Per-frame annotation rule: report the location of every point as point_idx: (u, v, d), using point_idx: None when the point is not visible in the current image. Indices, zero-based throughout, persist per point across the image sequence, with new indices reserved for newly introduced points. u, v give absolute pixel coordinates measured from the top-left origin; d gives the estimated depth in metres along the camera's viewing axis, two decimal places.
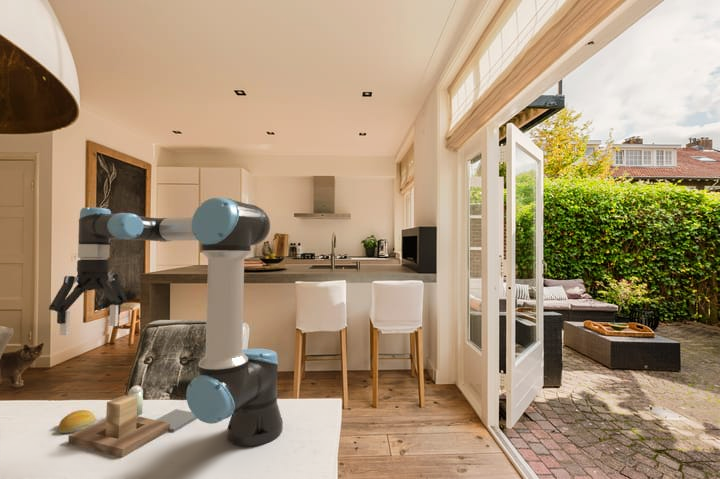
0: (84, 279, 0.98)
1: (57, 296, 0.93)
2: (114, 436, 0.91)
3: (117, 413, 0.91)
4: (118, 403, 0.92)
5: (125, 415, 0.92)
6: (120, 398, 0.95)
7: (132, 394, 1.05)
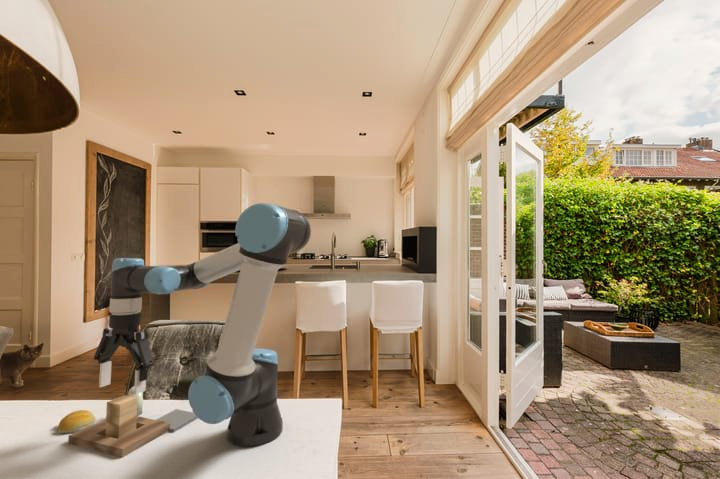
0: (113, 333, 0.95)
1: None
2: (114, 436, 0.91)
3: (117, 413, 0.91)
4: (118, 403, 0.92)
5: (125, 415, 0.92)
6: (120, 398, 0.95)
7: (132, 394, 1.05)
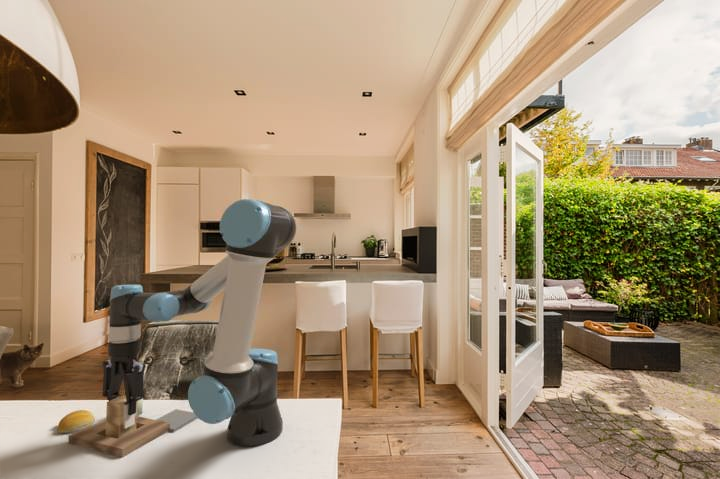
0: (112, 361, 0.95)
1: None
2: (114, 436, 0.91)
3: (117, 413, 0.91)
4: (118, 403, 0.92)
5: None
6: (120, 398, 0.95)
7: None
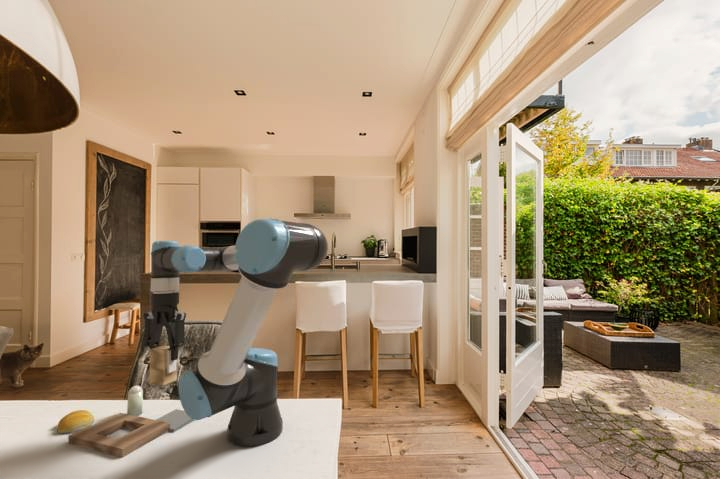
0: (154, 312, 1.01)
1: None
2: (159, 380, 0.97)
3: (161, 358, 0.98)
4: (161, 349, 0.99)
5: None
6: (161, 347, 1.01)
7: (132, 394, 1.05)
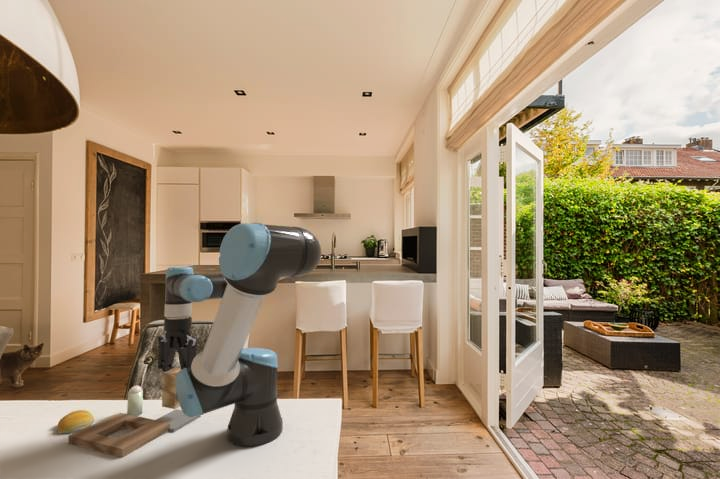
0: (167, 336, 1.04)
1: None
2: (170, 403, 1.00)
3: (173, 382, 1.00)
4: (174, 373, 1.01)
5: None
6: (174, 370, 1.04)
7: (132, 394, 1.05)
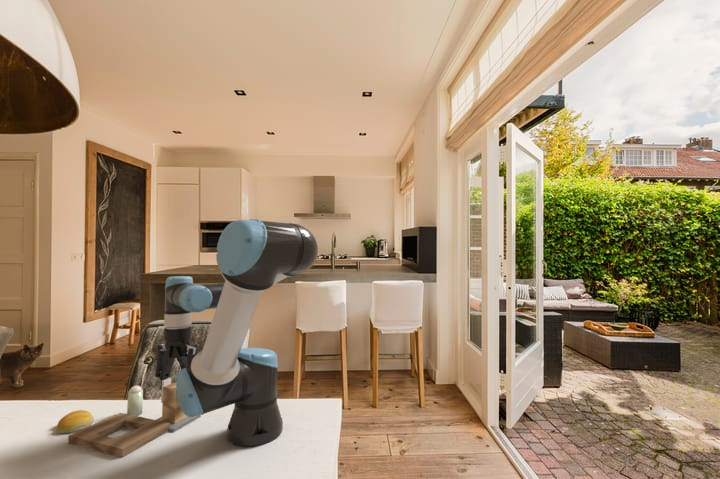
0: (167, 346, 1.03)
1: None
2: (170, 418, 1.00)
3: (173, 397, 1.00)
4: (173, 387, 1.01)
5: None
6: (174, 384, 1.04)
7: (132, 394, 1.05)
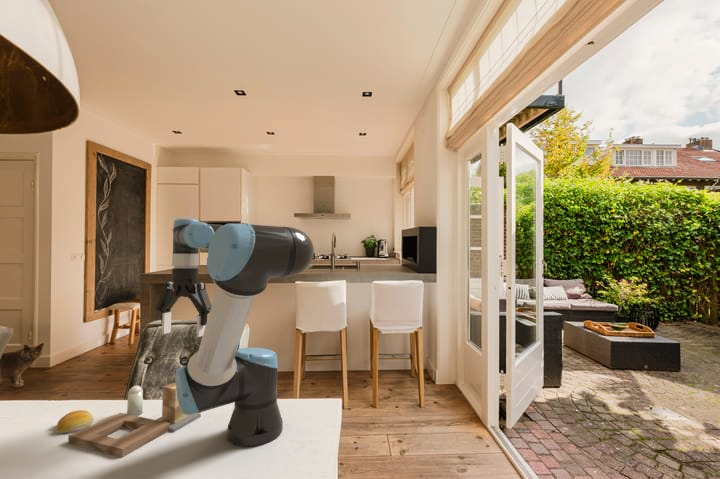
0: (174, 286, 1.07)
1: None
2: (170, 418, 1.00)
3: (173, 397, 1.00)
4: (173, 387, 1.01)
5: None
6: (174, 384, 1.04)
7: (132, 394, 1.05)
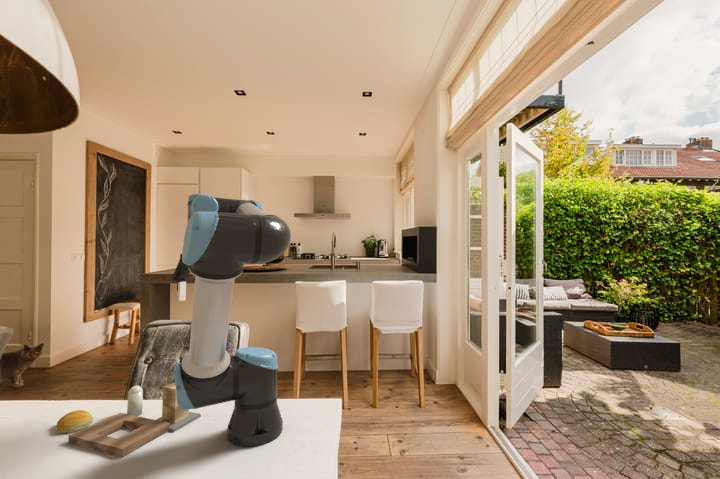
0: None
1: None
2: (170, 418, 1.00)
3: (173, 397, 1.00)
4: (173, 387, 1.01)
5: None
6: (174, 384, 1.04)
7: (132, 394, 1.05)
